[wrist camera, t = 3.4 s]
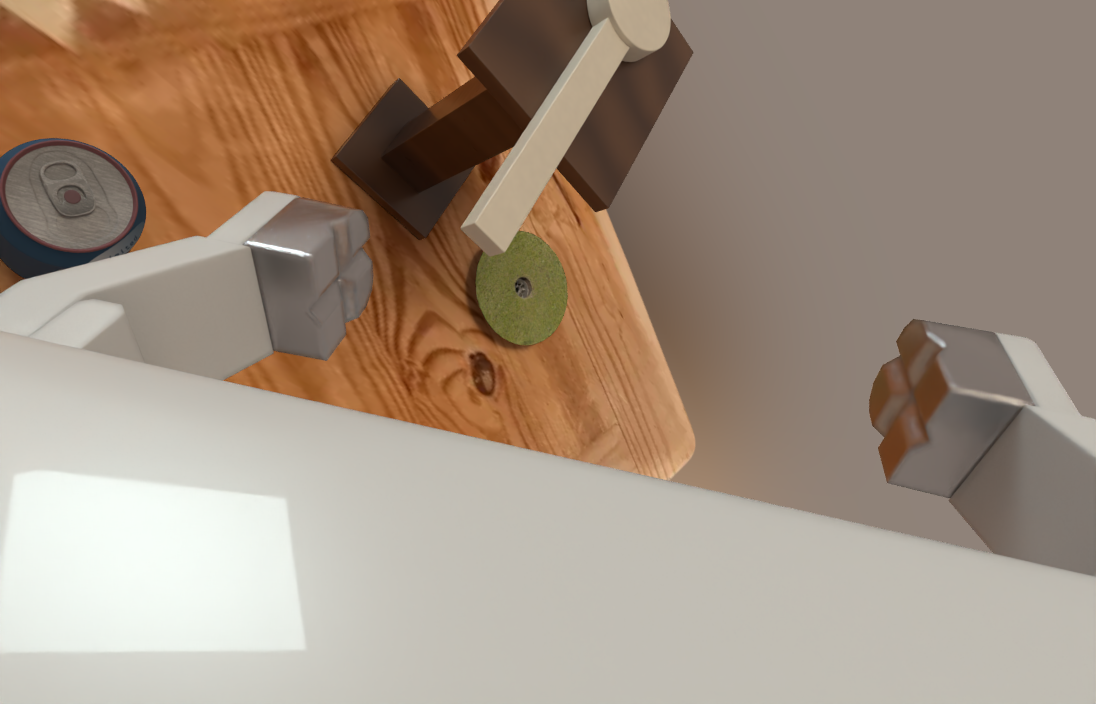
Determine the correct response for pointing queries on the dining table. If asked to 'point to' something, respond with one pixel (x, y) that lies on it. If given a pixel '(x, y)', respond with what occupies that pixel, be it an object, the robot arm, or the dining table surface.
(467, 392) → the dining table surface
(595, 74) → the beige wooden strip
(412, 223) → the stand
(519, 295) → the green grinding disc
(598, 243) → the dining table surface
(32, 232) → the soda can
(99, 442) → the robot arm
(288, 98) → the dining table surface
